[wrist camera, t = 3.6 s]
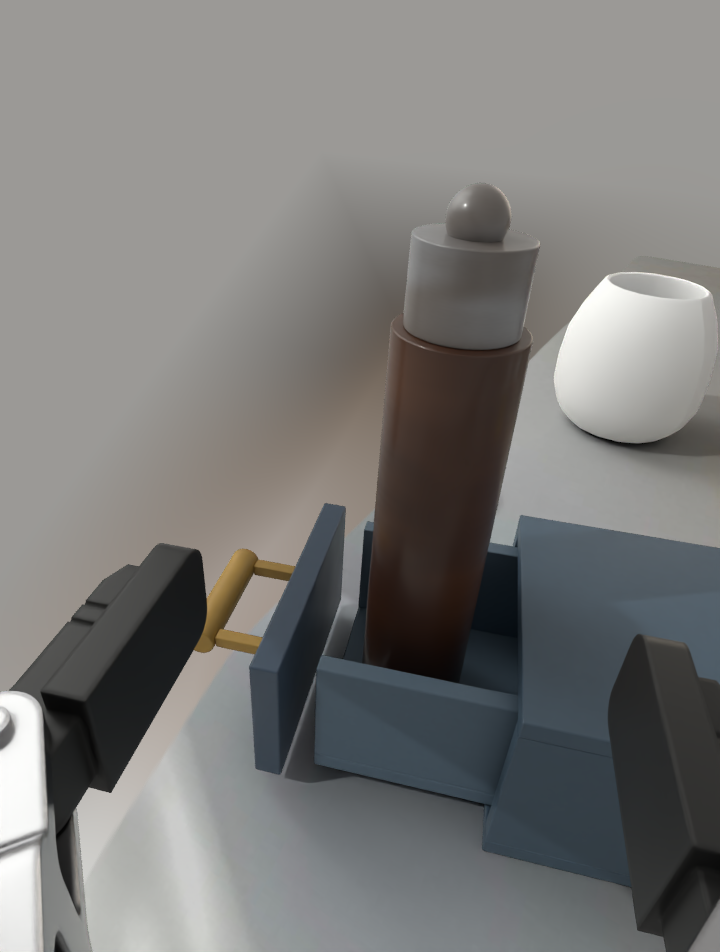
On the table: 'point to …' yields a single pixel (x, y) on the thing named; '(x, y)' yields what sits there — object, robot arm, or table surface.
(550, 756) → the cabinet
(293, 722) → the drawer
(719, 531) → the table surface
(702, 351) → the cup
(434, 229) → the pepper mill
